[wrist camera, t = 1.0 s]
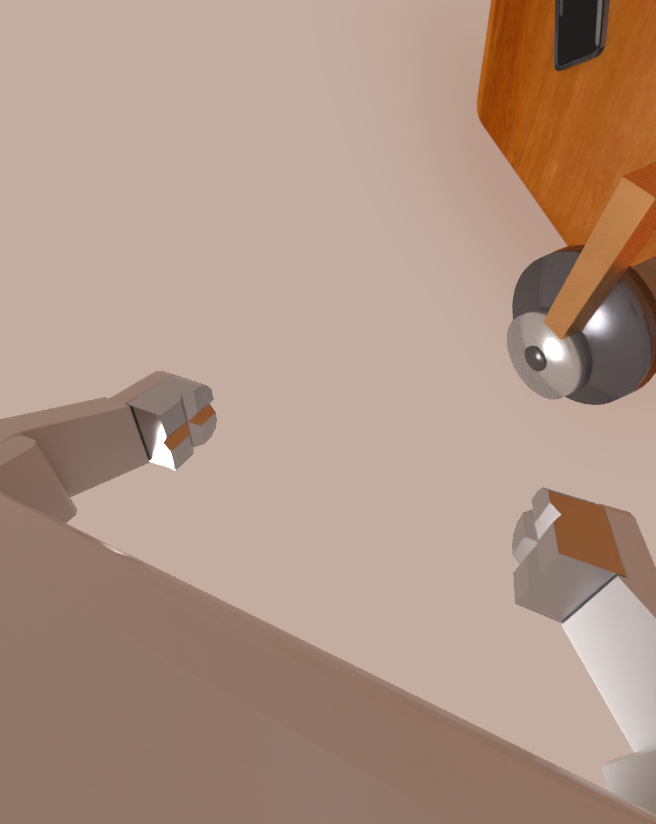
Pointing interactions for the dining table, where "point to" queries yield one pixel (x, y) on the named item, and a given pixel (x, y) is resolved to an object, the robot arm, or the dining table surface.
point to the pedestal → (602, 323)
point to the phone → (579, 31)
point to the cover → (584, 292)
